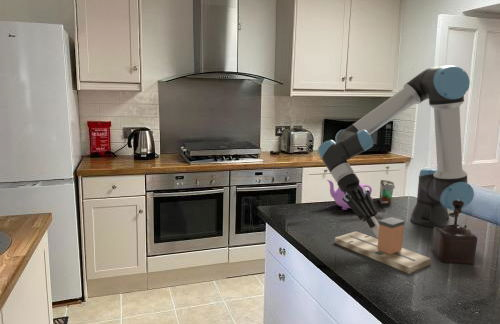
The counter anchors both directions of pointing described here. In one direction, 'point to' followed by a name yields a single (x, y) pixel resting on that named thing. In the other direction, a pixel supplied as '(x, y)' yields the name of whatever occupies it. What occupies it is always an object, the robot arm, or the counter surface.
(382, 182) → the food container
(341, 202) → the teapot
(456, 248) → the coffee grinder
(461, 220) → the counter surface
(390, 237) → the fader knob
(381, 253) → the fader board
